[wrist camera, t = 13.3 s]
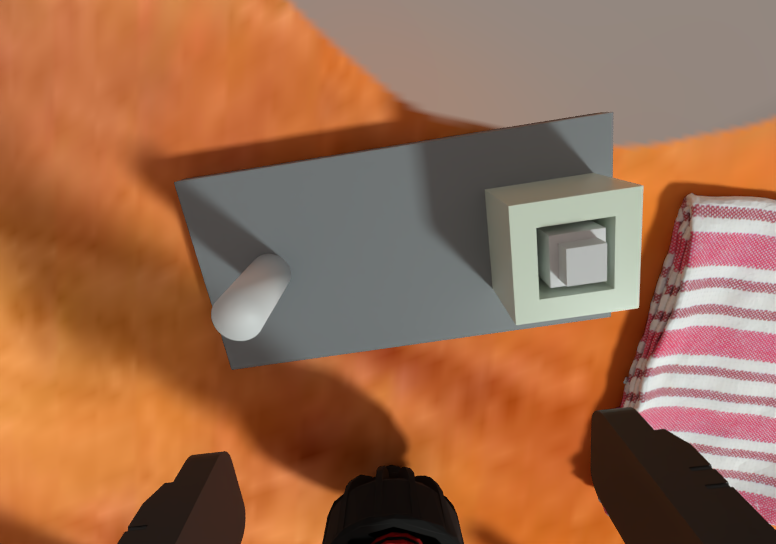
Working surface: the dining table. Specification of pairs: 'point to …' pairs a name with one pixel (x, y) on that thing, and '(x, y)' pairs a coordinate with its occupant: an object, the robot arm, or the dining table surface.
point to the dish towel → (716, 342)
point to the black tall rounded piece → (392, 511)
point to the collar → (553, 207)
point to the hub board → (383, 241)
